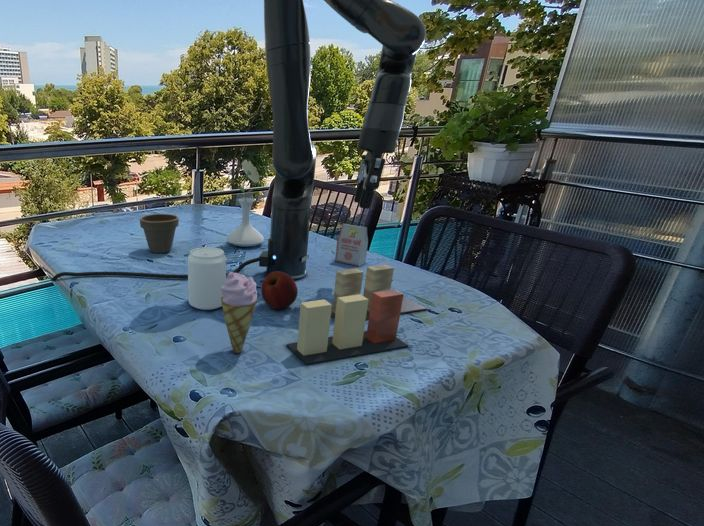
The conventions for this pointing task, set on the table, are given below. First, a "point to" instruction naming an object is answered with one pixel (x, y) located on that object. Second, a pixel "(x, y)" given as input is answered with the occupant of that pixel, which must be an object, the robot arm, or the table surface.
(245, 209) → the flower in vase
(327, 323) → the front word
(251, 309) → the ice cream cone
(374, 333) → the orange rectangular block
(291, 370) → the table surface
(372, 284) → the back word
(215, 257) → the beverage can
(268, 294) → the apple
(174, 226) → the flower pot
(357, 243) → the white tea box
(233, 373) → the table surface
